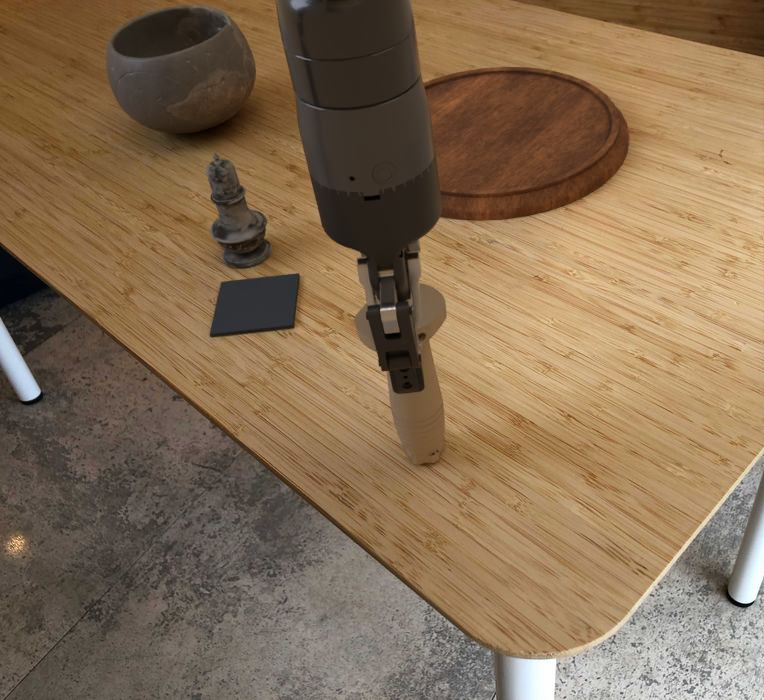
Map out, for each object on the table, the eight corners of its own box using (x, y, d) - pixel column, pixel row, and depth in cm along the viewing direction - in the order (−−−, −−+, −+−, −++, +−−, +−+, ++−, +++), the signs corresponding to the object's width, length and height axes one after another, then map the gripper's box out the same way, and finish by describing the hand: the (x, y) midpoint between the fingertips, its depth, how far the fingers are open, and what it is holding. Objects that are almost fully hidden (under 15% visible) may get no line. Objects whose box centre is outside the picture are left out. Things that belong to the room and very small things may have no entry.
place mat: (210, 337, 81) (209, 334, 80) (222, 284, 87) (221, 281, 86) (293, 328, 81) (293, 324, 80) (299, 275, 86) (299, 272, 86)
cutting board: (674, 111, 104) (675, 92, 102) (540, 252, 86) (540, 231, 84) (460, 63, 119) (458, 46, 117) (307, 175, 101) (303, 156, 99)
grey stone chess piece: (281, 236, 92) (253, 137, 84) (264, 271, 88) (233, 170, 79) (230, 235, 93) (197, 137, 84) (211, 269, 89) (174, 169, 80)
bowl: (293, 100, 115) (270, 6, 106) (208, 167, 104) (174, 69, 95) (193, 82, 122) (164, -8, 113) (103, 143, 111) (63, 49, 102)
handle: (475, 449, 68) (458, 307, 58) (409, 491, 65) (379, 350, 55) (440, 415, 71) (418, 274, 61) (376, 454, 68) (341, 314, 58)
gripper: (314, 101, 55) (358, 300, 66) (297, 230, 44) (354, 440, 56) (429, 88, 55) (454, 290, 66) (440, 214, 44) (467, 428, 56)
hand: (408, 358), depth 61 cm, fingers closed on handle, 5 cm apart
